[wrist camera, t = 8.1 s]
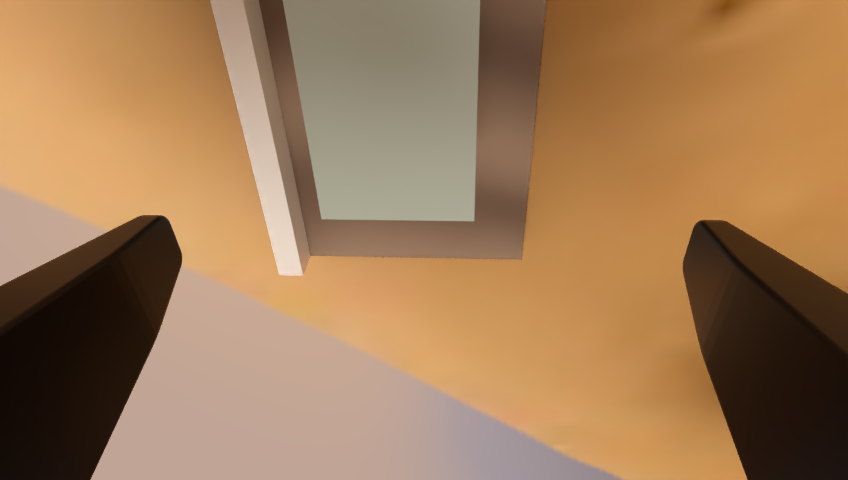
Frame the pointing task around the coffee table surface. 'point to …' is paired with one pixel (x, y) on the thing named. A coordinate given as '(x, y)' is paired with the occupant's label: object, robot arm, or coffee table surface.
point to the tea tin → (389, 105)
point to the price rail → (263, 128)
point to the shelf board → (495, 147)
